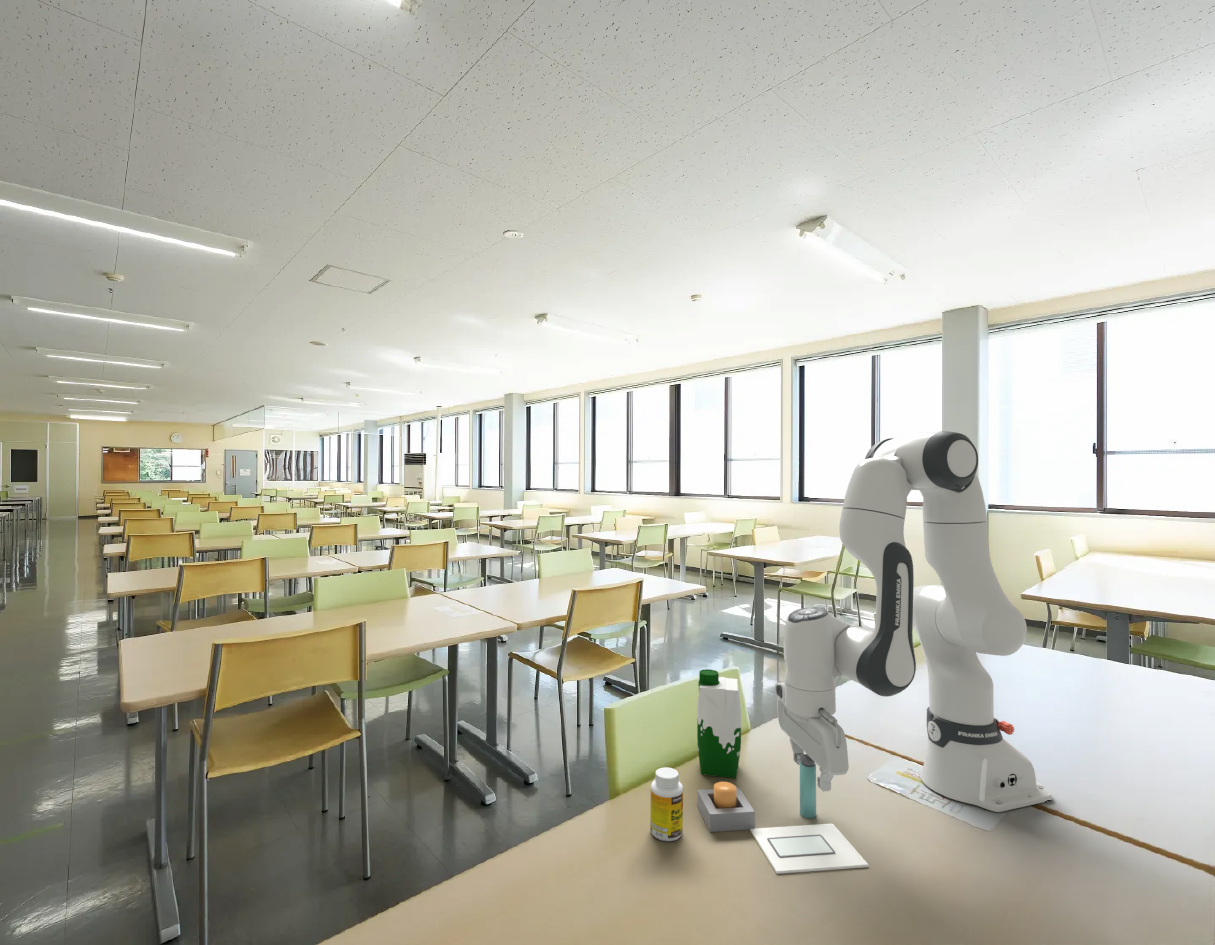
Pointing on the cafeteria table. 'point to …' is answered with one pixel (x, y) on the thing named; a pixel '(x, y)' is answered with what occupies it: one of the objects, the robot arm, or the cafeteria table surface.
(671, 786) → the supplement bottle
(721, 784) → the button
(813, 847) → the worksheet
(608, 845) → the cafeteria table surface
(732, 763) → the milk carton
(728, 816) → the button housing
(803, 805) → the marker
